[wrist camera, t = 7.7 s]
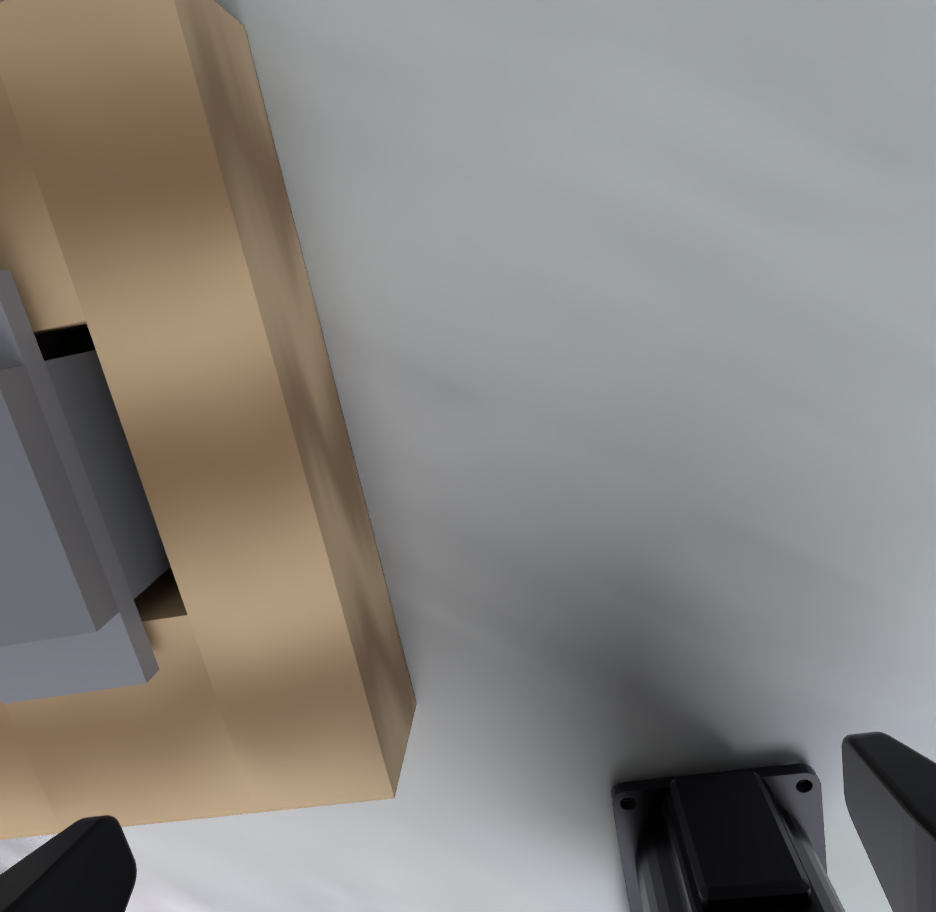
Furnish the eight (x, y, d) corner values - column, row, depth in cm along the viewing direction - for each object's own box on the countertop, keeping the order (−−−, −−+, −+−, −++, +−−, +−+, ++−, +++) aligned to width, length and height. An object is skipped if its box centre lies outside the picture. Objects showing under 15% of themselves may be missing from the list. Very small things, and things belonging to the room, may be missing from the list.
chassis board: (416, 704, 22) (393, 801, 18) (34, 751, 24) (-62, 848, 20) (244, 25, 17) (159, -46, 13) (-230, 151, 18) (-433, 122, 15)
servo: (232, 586, 21) (106, 730, 15) (118, 604, 22) (-53, 751, 15) (127, 267, 19) (-83, 271, 12) (0, 296, 19) (-266, 315, 13)
